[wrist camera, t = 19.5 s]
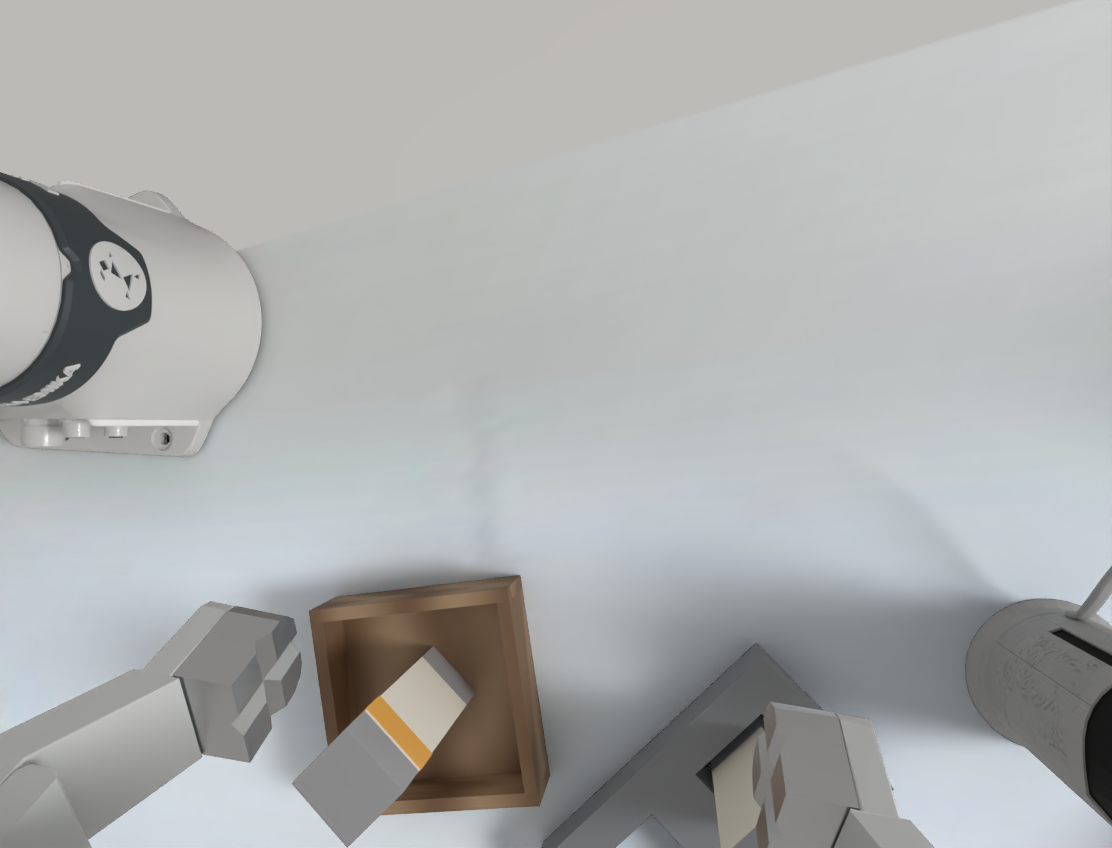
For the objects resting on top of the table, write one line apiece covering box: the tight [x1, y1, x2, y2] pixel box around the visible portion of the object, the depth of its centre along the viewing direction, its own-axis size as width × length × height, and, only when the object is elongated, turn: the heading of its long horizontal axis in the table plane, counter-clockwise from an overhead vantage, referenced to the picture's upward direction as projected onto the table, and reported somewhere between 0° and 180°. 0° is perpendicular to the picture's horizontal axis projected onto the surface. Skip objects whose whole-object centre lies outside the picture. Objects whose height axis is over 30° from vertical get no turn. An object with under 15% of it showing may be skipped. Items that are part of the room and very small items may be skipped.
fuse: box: [711, 716, 765, 848], centre depth 36 cm, size 4×4×12 cm
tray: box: [309, 575, 550, 815], centre depth 43 cm, size 13×13×4 cm
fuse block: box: [541, 644, 894, 848], centre depth 41 cm, size 19×10×2 cm, turn 136°
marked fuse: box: [292, 646, 476, 847], centre depth 38 cm, size 4×4×12 cm
